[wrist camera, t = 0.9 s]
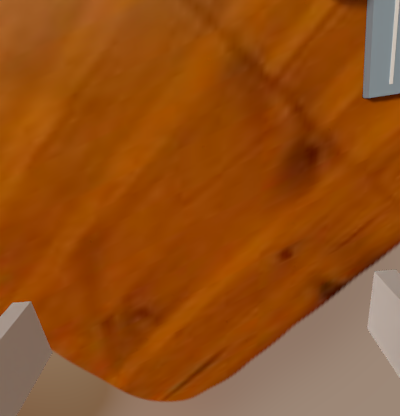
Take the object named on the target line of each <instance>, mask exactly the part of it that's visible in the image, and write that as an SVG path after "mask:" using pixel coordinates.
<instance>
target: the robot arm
mask: <svg viewBox="0 0 400 416" xmlns="http://www.w3.org/2000/svg"><path fill="white" fill-rule="evenodd" d="M367 329H368V330H369V332H370V334H371V335H372V337H373V338H374V340H375V341H376V343H377V344H378V346H379V347H380V349H381V350H382V352H383V353H384V355H385V356H386V358H387V360H388V361H389V363H390V364H391V365H392V367H393V369H394V370H395V372H396V373H397V375H398V376H399V378H400V273H399V272H398V271H397V270H396V269H394V270H383V271H374V278H373V286H372V295H371V302H370V311H369V319H368V327H367ZM51 354H52V351H51V348H50V346H49V343H48V341H47V339H46V336H45V334H44V331H43V329H42V327H41V324H40V322H39V319H38V317H37V315H36V312H35V310H34V307H33V305H32V303H31V301H29V302H18V303H12V304H11V305H10V306H9V307H8V309H7V310H6V311H5V312H4V313H3V314H2V315H1V317H0V416H17V414H18V412H19V411H20V409H21V407H22V405H23V404H24V402H25V400H26V398H27V397H28V395H29V393H30V391H31V390H32V388H33V386H34V384H35V383H36V381H37V379H38V377H39V375H40V374H41V372H42V370H43V368H44V367H45V365H46V363H47V361H48V360H49V358H50V356H51Z"/></svg>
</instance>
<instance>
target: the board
mask: <svg viewBox="0 0 400 416" xmlns="http://www.w3.org/2000/svg"><path fill="white" fill-rule="evenodd" d="M399 93H400V0H367V19H366V40H365V62H364V83H363V98H373V97H380V96H386V95H393V94H399Z"/></svg>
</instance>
